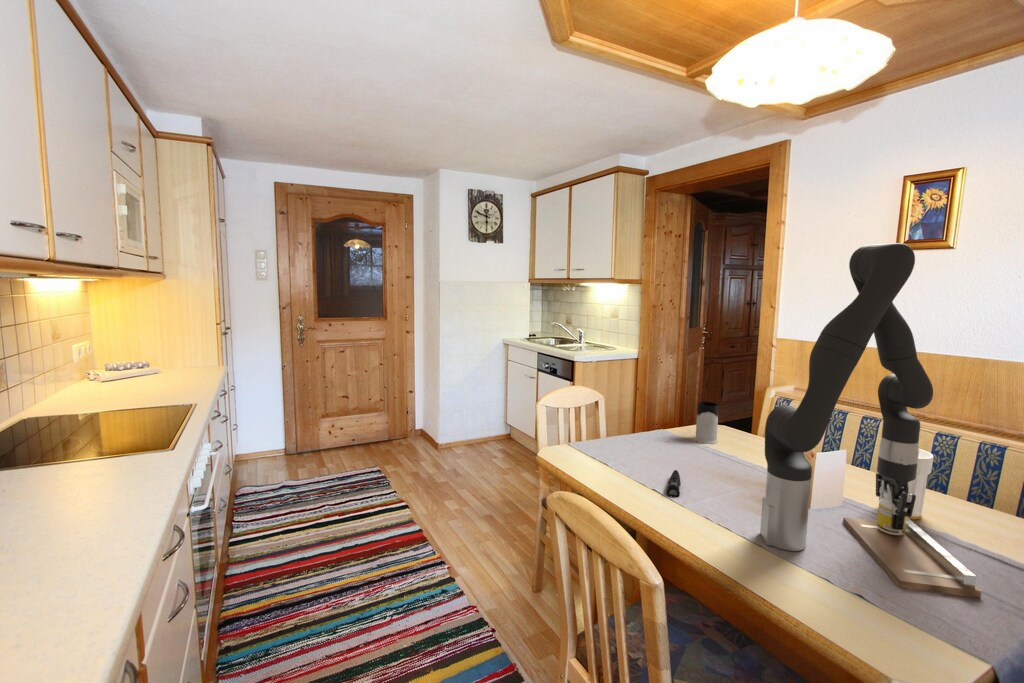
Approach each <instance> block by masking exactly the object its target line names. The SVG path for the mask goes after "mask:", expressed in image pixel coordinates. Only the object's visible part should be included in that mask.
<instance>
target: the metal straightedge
mask: <svg viewBox="0 0 1024 683" xmlns="http://www.w3.org/2000/svg"><path fill="white" fill-rule="evenodd" d="M905 533H906V534H907V535H908V536H909V537H910V538H911V539H912V540H913V541H914V542H916V543H917V544H918V545H919V546H920V547H921V548H922V549H923V550H924V551H925V552H926V553H928V554H929V555H930V556H931V557H932V558H933V559H934V560H935V561H936V562H937V563H938V564H939V565H941V566H942V567H943V568H944V569H945V570H946V571H947V572H948V573H949V574H950V575H952V576H953V577H954V578H955V579H956V580H957V581H958V582H959V583H960V584H961V585H962V586H964V587H972V588H975V586H976V583H977V578H978V577H977V575H976V574H975V573H973V572H972V571H971V570H970V569H968V568H967V567H966V566H965V565H964V564H962V562H961V561H959V560H958V559H957V558H956V557H954V555H952V554H951V553H950V552H948V550H946V548H944V547H943V546H941V544H939V543H938V542H937V541H936V540H934V538H932V537H931V536H930V535H929V534H928V533H926V531H924V530H923V529H922V528H921V527H919V526H918V525H917V524H916V523H914V521H913V520H911V519H909V518H908V517H906V523H905Z"/></svg>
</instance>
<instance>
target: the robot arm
mask: <svg viewBox="0 0 1024 683" xmlns="http://www.w3.org/2000/svg"><path fill="white" fill-rule="evenodd" d="M915 264H916V255H915V252H914V249H913V248H911V246H909V245H907V244H905V243H903V242H902V243H899V242H891V243H877V244H876V243H875V244H867V245H863V246H860V247H858V248H857V249H855V251H854V252H852V254H851V256H850V259H849V263H848V265H849V266H848V268H849V272H850V275H851V278H852V282H853V284H854V286H855V288H856V291H857V292H858V294H857V296H856V297H855V298H854V299H853V301H852V302H850V303H849V304H848V305H847V306H846V307H845V308H844V309H842V310H841V311H840V312H839V313H837V315H835V316H834V317H833V318H832V319H831V320H830V321H829V322H828V323H827V324H826V325H825V326H824V327H823V329H822V330H821V332H820V334H819V336H818V338H817V339H816V341H815V344H814V345H813V347H812V349H811V352H810V354H809V363H808V383H807V384H808V385H807V388H806V390H805V391H806V392H805V394H804V396H803V397H802V400H800V403H799V405H798V407H794V406H792V405H788V404H787V405H786V404H784V405H783V404H782V405H779V406H776V407H775V408H773V409H772V410H771V411H770V413H769V414H768V415H767V418H766V420H765V421H766V422H765V428H764V458H765V461H766V464H767V468H766V469H767V470H766V483H765V496H763V497H762V501H761V502H762V503H761V513H760V514H761V518H760V529H759V530H760V532H759V533H760V536H762V539H763V541H764V542H765V545H768V546H772V547H775V548H778V549H779V550H784V551H789V552H797V551H803V550H804V549H805V548H806V546H807V539H808V538H807V534H808V521H809V510H810V509H809V508H810V499H811V498H810V496H811V489H812V488H811V485H812V475H813V474H812V473H813V468H812V465H811V464H810V461H808V459H807V458H806V456H805V453H808V452H810V451H812V450H813V449H815V448H816V447H817V446H818V445H819V444H820V443H821V440H822V439H823V437H824V435H825V432H826V430H827V427H828V425H829V423H830V420H831V418H832V415H833V412H834V410H835V409H836V408H835V407H836V405H837V403H838V401H839V399H840V396H841V395H842V393H843V391H844V389H845V387H846V385H847V383H848V381H849V378H850V377H851V375H852V373H853V372H854V370H855V368H856V367H857V365H858V363H859V361H860V360H861V358H862V357H863V356H862V355H863V354H864V353H865V350H866V348H867V345H868V343H869V341H870V340H871V338H872V336H874V339H875V343H876V349H877V353H878V357H879V362H880V365H881V366H882V368H884V369H886V370H887V371H889V372H891V374H888V375H885V376H884V377H883V378H882V379H881V380H880V382H879V383H878V387H877V397H878V398H877V399H878V403H879V407H880V408H879V409H880V413H881V416H882V430H881V438H880V442H879V447H878V454H877V464H876V472H875V496H876V497H878V501H879V500H880V499H881V498H884V497H883V493H884V490H886V491H888V492H889V502H890V504H892V509H893V513H892V523H891V527H892V528H893V529H896V530H903V526H904V517H905V516H908V517H911V516H912V512H913V508H914V504H915V500H916V496H915V494H910V493H909V492H908V490H909V489H908V482H910V481H913V480H915V479H916V473H917V464H918V455H919V449H920V448H919V440H920V431H921V422H920V420H919V419H918V418H917V417H915V416H913V415H912V414H910V413H909V411H908V408H909V409H915V410H919V409H923V408H926V407H927V406H928V405H930V404H931V402H932V400H933V396H934V388H933V385H932V381H931V380H930V378H929V376H928V373H927V372H926V370H925V368H924V366H923V364H922V363H921V362H920V360H919V358H918V354H917V349H916V344H915V343H916V342H915V338H914V334H913V332H912V328H910V326H909V324H908V322H907V321H906V320H905V318H904V317H903V315H902V314H901V313H900V311H899V310H898V309H897V307H896V305H895V304H894V300H895V299H896V297H897V296H898V295H899V293H900V291H901V290H902V289H903V287H904V285H905V284H906V282H907V281H908V280H909V279H910V276H911V274H912V272H913V270H914V268H915ZM873 334H874V335H873ZM894 499H897V500H900V501H899V502H898V501H895V500H894ZM897 505H898V509H897ZM907 508H908V509H907Z"/></svg>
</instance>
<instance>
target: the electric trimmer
mask: <svg viewBox="0 0 1024 683" xmlns="http://www.w3.org/2000/svg"><path fill="white" fill-rule="evenodd" d="M680 487H681V476H680V473H679V471H678V470H677V469H675V470H673V472H672V474H671V475H670V478H669V481H668V485H667V489H666V496H667V497H669V496H672V497H671V498H675V497H678V498H679V497H680V495H681V492H680Z"/></svg>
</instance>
